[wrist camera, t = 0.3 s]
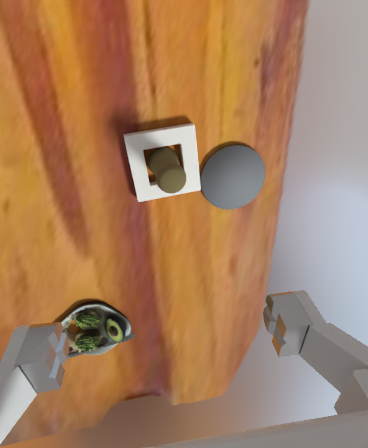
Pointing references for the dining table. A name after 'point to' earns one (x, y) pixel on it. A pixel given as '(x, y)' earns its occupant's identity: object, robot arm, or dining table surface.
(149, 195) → the white square frame
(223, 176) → the charcoal mat
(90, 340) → the salad plate
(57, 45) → the dining table surface
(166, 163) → the olive pawn
